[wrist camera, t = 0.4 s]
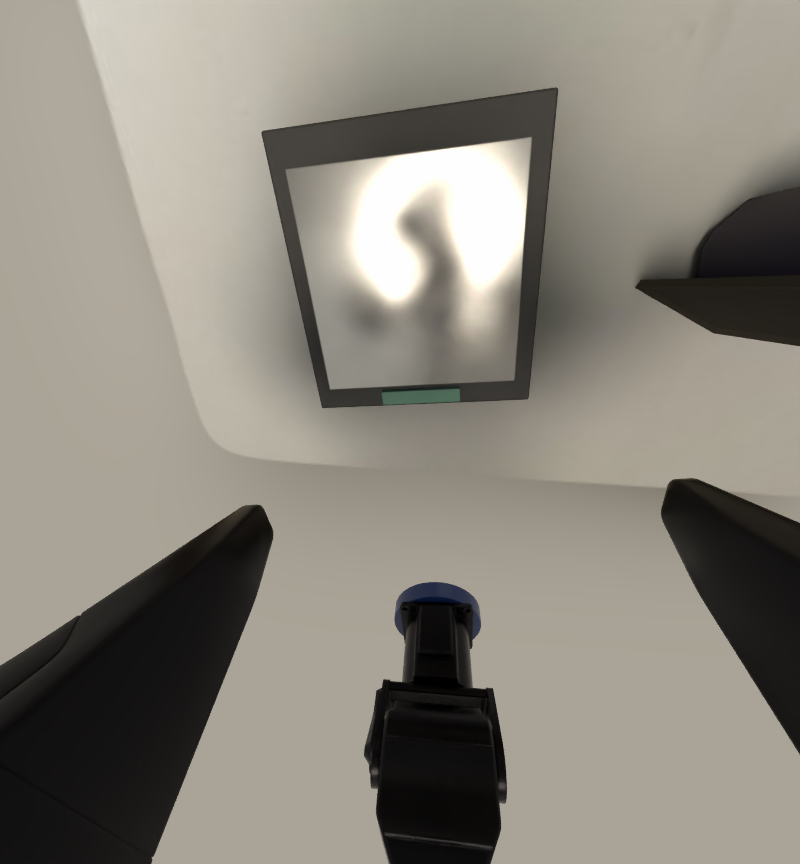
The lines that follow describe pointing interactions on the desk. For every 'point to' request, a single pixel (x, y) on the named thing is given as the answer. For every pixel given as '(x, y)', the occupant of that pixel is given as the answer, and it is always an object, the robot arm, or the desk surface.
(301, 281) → the scale
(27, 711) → the robot arm
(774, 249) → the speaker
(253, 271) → the desk surface
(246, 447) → the desk surface
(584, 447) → the desk surface
